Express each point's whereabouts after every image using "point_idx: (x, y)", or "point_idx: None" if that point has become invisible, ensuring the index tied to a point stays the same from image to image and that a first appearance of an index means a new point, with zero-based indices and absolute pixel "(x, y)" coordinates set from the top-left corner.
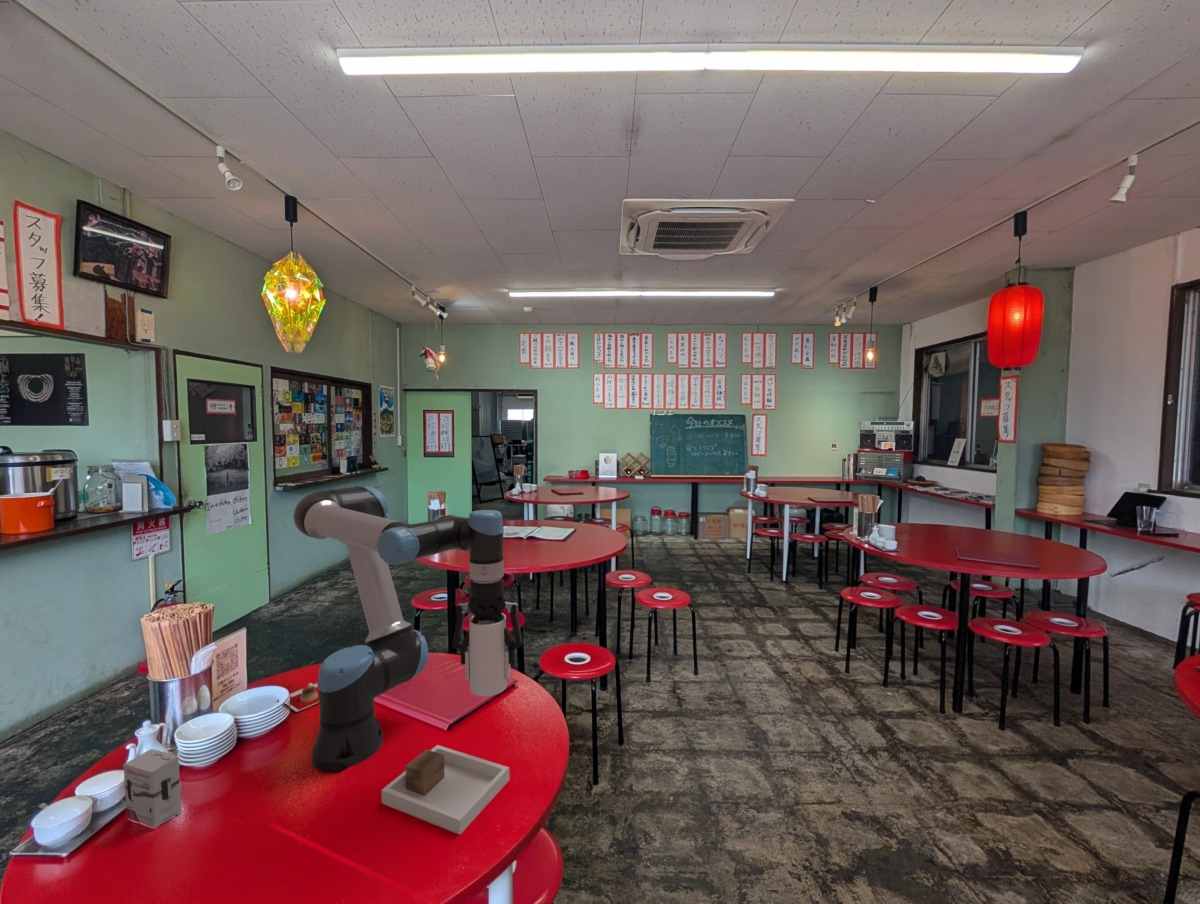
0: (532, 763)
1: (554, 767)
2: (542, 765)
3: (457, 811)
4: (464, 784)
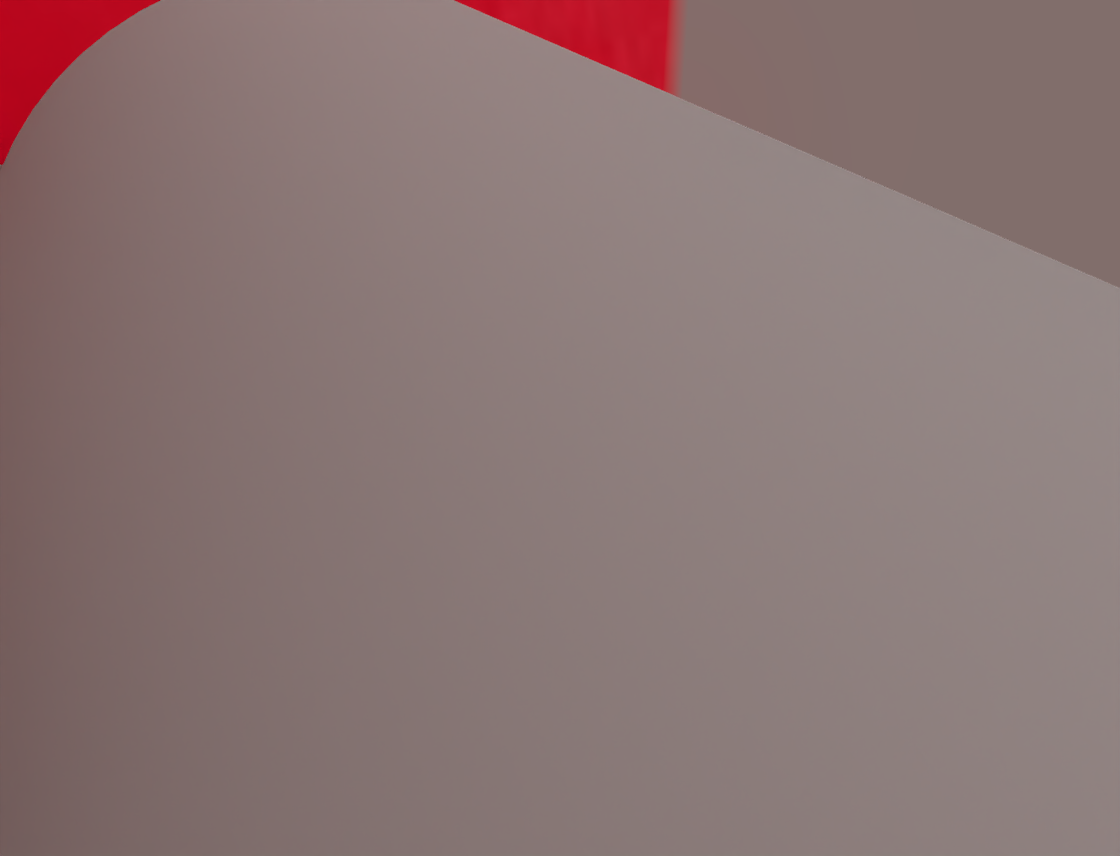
0: (511, 7)
1: (665, 30)
2: (584, 20)
3: None
4: None
